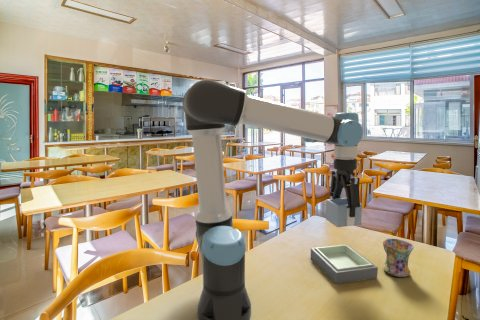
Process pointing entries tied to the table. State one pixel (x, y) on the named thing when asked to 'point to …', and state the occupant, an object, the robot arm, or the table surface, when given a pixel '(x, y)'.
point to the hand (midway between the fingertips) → (343, 220)
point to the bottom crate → (345, 274)
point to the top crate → (342, 257)
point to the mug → (397, 257)
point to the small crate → (340, 212)
